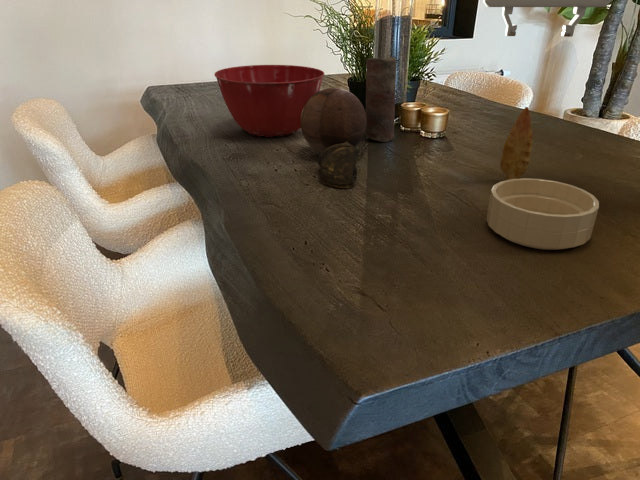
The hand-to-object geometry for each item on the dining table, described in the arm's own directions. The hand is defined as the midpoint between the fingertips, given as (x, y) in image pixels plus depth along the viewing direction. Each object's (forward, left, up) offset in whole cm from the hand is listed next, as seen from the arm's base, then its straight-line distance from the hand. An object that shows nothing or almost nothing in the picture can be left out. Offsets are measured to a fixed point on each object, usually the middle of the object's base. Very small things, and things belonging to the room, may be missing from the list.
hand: (538, 36), depth 85 cm
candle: (+28, -27, -27) cm, 48 cm away
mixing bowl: (+57, -31, -27) cm, 70 cm away
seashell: (+35, +1, -27) cm, 44 cm away
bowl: (0, +22, -27) cm, 35 cm away
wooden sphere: (+38, -13, -27) cm, 48 cm away
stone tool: (0, 0, -27) cm, 27 cm away
